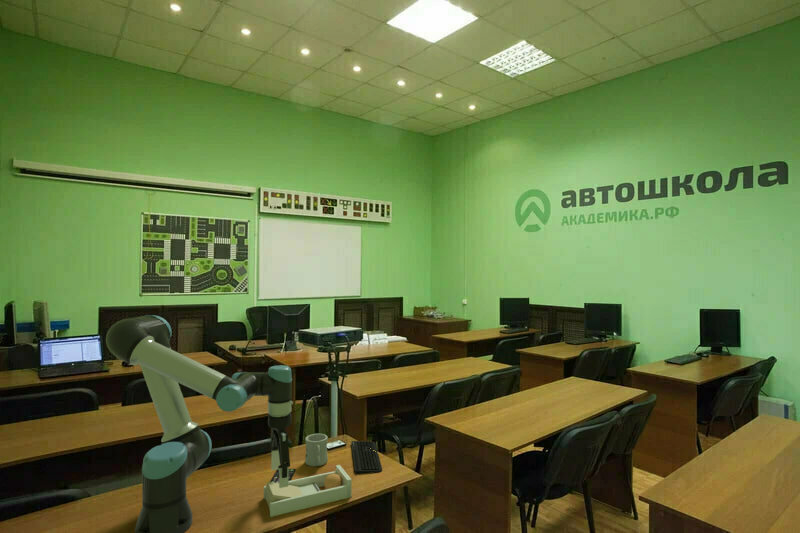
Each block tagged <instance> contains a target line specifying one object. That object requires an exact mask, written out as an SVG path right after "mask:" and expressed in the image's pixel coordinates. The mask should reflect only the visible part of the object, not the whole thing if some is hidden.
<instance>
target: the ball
mask: <svg viewBox="0 0 800 533" xmlns="http://www.w3.org/2000/svg"><path fill="white" fill-rule="evenodd" d="M324 485H325V486H324V488H325V490H326V489H331V488H335V487H339V486H341V485H342V480H341V478H340V476H339V475H337V474H330V475H328V476H327V477H326V479H325V483H324Z"/></svg>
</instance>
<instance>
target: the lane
mask: <svg viewBox="0 0 800 533" xmlns="http://www.w3.org/2000/svg"><path fill="white" fill-rule="evenodd" d="M330 474H337V475H339V476H340V478H341V480H342V485H341V486H339V487H335V488H331V489H326V488H325V489H323V490H322V489H320V488H321V487H322V488H323V487H325V485H324V483H325V479H326V477H327V476H328V475H330ZM352 482H353V481H352V478H351V477H350V476H349V474H348V473H347V471H345V469H344V468H343V467H342V466H341V464H337V465H335V470H333V471H329V472H325V473H319V474H316V475H311V476H306V477H302V478H297V479H291V481H288V487H283V488H279V483H273V482H270V481H267V483H266V485H264V486H263V500H265V501H266V503H267V507H268V509H269V517H270V518H273V517H276V516H280V515H283V514H288V513H292V512H297V511H301V510H305V509H307V508H308V509H309V508H312V507H317V506H320V505H324V504H329V503H332V502H337V501H342V500H344V499H348V498H352V494H353V493H352Z"/></svg>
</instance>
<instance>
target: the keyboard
mask: <svg viewBox="0 0 800 533" xmlns="http://www.w3.org/2000/svg"><path fill="white" fill-rule="evenodd" d="M350 445H351V453H352V460H353V469H354V474H355V475H362V474H363V475H365V474H376V473H377V474H379V473H382V472H383V468H382V467H383V466H382V464H381V459H380V457H379V456H380V455H379V451H378V448H377V444H376V442H375V441H369V440H351V444H350ZM370 448H371V449H370ZM373 450H375V451H376V452H375V451H373ZM377 452H378V453H377Z"/></svg>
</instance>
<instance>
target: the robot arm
mask: <svg viewBox="0 0 800 533" xmlns="http://www.w3.org/2000/svg"><path fill="white" fill-rule="evenodd" d="M172 333H173V332H172V328H171V325H170V323H169V322H168V321H167V320H166V319H165V318H164V317H161V316H159V315H155V314H154V315H153V314H152V315H149V314H145V315H142V316H136V317H131V318H124V319H121V320H119V321H116V322H115V323H113V324H112V325H111V327H110V328H109V329H108V330H107V333H106V337H105V344H106V346H107V349H108V350H109V352H110V353H111V354H112V355H113V356H114V357H116V358H118V359H120V360H121V361H123V362H124V363H127V364H130V366H131V365H132V366H137V365H139V366H140V368H141V371H142V374H143V377H144V381H145V383H146V387H147V388H148V391H149V395H150V397H151V399H152V402H153V405H154V409H155V412H156V414H157V417H158V420H159V422H160V425H161V429H162V432H163V435H162V437H161V440H160V441H161V444H160V445H156V446H154V447H152V448H151V449H149V450H148V451H147V452H146V453H145V454H144V457H143V460H142V461H143V462H142V466H141V467H142V468H141V474H142V475H141V477H142V484H141V485H142V488H141V489H142V490H141V491H142V495H141V496H142V498H141V499H142V502H141V503H142V506H141V509H140V511H139V515H138V518H137V521H136V524H135V527H134V528H135V529H134V533H185V532H187V531H188V530H189V528H190V527H191V526H192V524H193V512H192V508H191V506H190V503H189V501H188V498H187V480H188V478H189V477H190V476H191V475H192V474H193V473H194V472H196V470H198V469H199V468H200V467H201V466H203V465H204V463H205V462H206V461H207V459H208V458H209V457H210V454H211V452H212V439H211V436H210V435H209V434H208V433H207V432H206V431H204V430H203V429H201V428H200V424H199V423H198V422H194V421H193V420H192V418H191V415H190V413H189V412H190V411H189V409H188V406H187V404H186V402H185V401H186V400H185V398H184V395H183V393H182V391H181V386H180V385H182V386H184V387H187V388H189V389H191V390H194V391H195V392H198V393H199V394H202V395H203V396H205V397H208V398H210V399H213V400H214V401H216V405H217V406H218V407H219V409H220V410H222V411H224V412H227V413H232V412H234V411H236V410H238V409H240V408H241V407H242V406H244V405H245V404H246V403H247V401H249V400H250V399H252V398H253V397H265V396H267V397H268V398H267V413H268V415H267V418H268V419H267V425H268V427H269V428H271V434H270V442H269V445H270V449H271V453H270V454H271V460H270V462H271V465H270V466H271V468H270V470H271V471H276V470H277V469H279V488H283V487H288V469H289V468H290V467H291V461H290V460H291V459H290V448H289V434H288V432H287V430H286V428H288V427H290V426H291V424H292V414H293V413H291V412H292V406H293V404H294V402H293V401H292V388H293V387H292V386H293V382H292V381H293V378H292V369H291V367H290V366H288V365H282V364H280V365H273V366H270V367H269V368H268V371H266V372H247V371H242V372H235V373H233V374H232V376H231V377H229V376H227V375H225V374H223V373H221V372H220V371H218V370H215V369H213V368H211V367H209V366H206V365H205V364H203V363H201V362H199V361H196V360H194V359H192V358H190V357H189V356H186V355H183V354H181V353H179V352H178V351H176V350H173V349H172V347H171V344H170V340H171V337H172ZM179 384H180V385H179Z"/></svg>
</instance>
